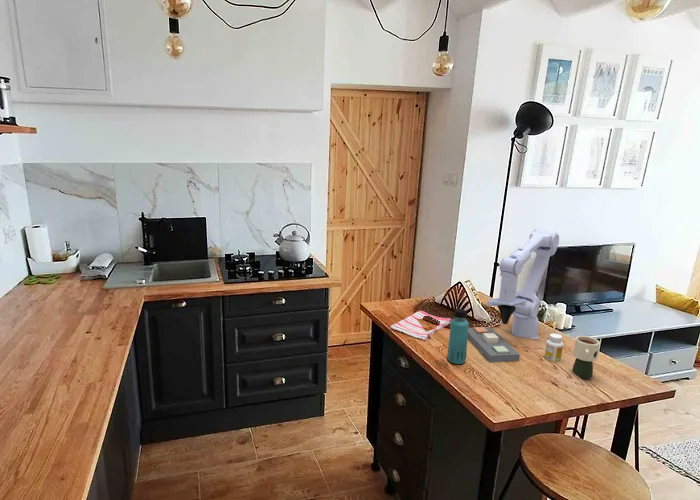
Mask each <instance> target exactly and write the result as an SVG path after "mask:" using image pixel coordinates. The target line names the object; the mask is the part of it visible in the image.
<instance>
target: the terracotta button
mask: <svg viewBox="0 0 700 500" xmlns="http://www.w3.org/2000/svg"><path fill="white" fill-rule="evenodd" d="M484 327H485V326H479V327H477V326H475V327H474V326H473V328H474V331H475V332H476V333H477V334H483V333H488V331H487V330H486V329H485V328H484Z"/></svg>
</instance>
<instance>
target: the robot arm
mask: <svg viewBox="0 0 700 500" xmlns="http://www.w3.org/2000/svg"><path fill="white" fill-rule="evenodd" d="M559 243H560V235H559V233H558V232H554V231H553V232H552V231H547V230H541V229H536V228H534V229H532V231H531V232H530V234H529V238H528V241H527V242H525V244H524V245H523V246H519V247H518V248H517V249H515V250H514V251H513V252H512V253H511V254H510V255H509V256H506V257H505V256H504V257H503V258H502V259H501V260H500V264H499V272H500V276H501V280H500V290H499V297H498V298H493V299H487V303H486V305H487V306H488V307H493V306H495V307H496V306H497V308H498V311H499V314H500V319H501V323H502V324H503V325H508V323H509V321H510V319H511V317H512V325H511V326H512V327H511V335H512V336H515V337H518V338H522V339H523V338H524V339H525V338H530V339H531V340H538V339H539V337H538V335H539V334H538V333H539V325H540V321H539V318H538V316H537V315H538V314H539V310H540V304H541V300H540V298H539V297H538V296H537V292H538V289H539V286H540V284H541V282H542V279H543V276H544V273H545V270H546V268H547V266H548V262H549V260H550V257H552V256H553V255H555V253H556V252H557V249H558V247H559ZM532 253H535V258H534V260H533V263H532V266H531V269H529V270H530V271H529V273H528V276H527V279H526V281H525V283H524V285H523V286H524V287H523V289H521V290H520V291H517V289H518V281H519V275H520V274H521V273H522V270H523V268H524V266H525V264H526V263H527V262H528V261H529V260H530V259H531V256H532V255H531V254H532ZM512 315H513V316H512Z"/></svg>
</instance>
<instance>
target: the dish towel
mask: <svg viewBox="0 0 700 500" xmlns="http://www.w3.org/2000/svg"><path fill="white" fill-rule="evenodd" d="M424 316H430V317H432V318H434V319H436V320H435V321H437V320H438V321H437V322H439V321H440V322H439V325H436V327H435V328H432V329H429V330H426V329H425V328H424V326H423V325H422V323H421V322H420V320H423V317H424ZM434 319H433V320H434ZM452 319H453V318H450V317H442V316H440V317H439V316H436V315H432V314H429V313H428V312H426V311H424V310H422V309H421V310H418V311H416V312H415V313H413V314H411V315H410V316H406V318H404V319H401V320H399V321H398V322H396V323H393V324H391V325H390V329H392V330H393V329H394V331H395V330H397V331H396V332H398V331H400V332H399V333H401V332H403V333H405V334H404V335H406V334H408V335H407V336H409V335H410V336H409V337H411V336H413V337H412V338H414V337H415V338H414V339H417V338H419V339H418V340H420V339H422V340H421V341H423V340H426V339H427V338H428V339H430V338H431V335H433V334H435V333H436V332H438V331H440V330H441V329H443V328H445V327H446V325H447V326H448V325H449V324H451V323H450V322H451V320H452ZM403 333H402V334H403ZM429 337H430V338H429ZM428 339H427V340H428ZM427 340H426V341H427Z"/></svg>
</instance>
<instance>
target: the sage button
mask: <svg viewBox="0 0 700 500" xmlns="http://www.w3.org/2000/svg"><path fill="white" fill-rule="evenodd" d="M493 350H494V351H495V352H496V353H497V354H509V351H508V350H507V349H506V348H505V347H504V346H493Z"/></svg>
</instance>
